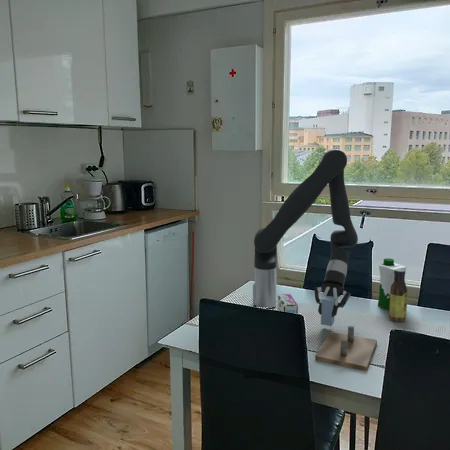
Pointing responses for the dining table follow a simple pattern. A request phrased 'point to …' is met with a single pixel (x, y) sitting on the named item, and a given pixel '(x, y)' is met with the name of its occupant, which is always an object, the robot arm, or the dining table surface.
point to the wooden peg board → (347, 350)
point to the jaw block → (327, 310)
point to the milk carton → (387, 281)
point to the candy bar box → (287, 304)
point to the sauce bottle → (398, 297)
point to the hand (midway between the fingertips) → (326, 314)
